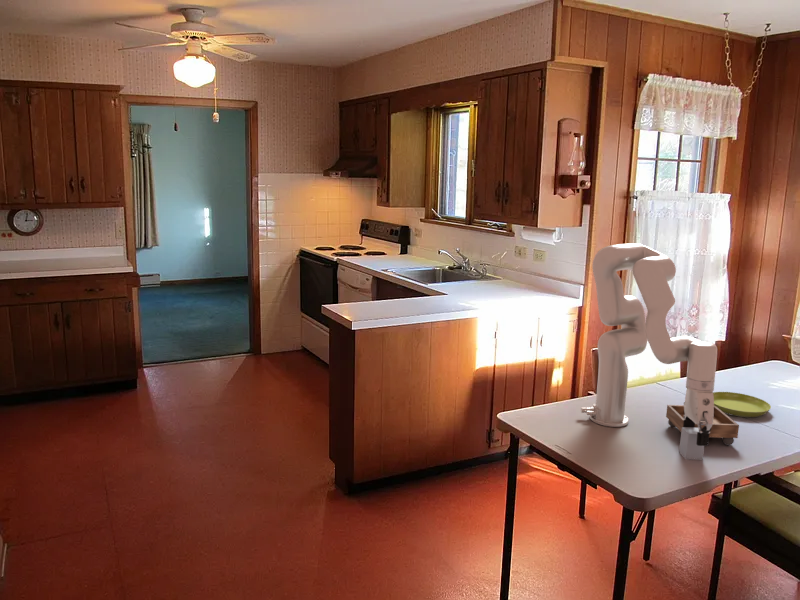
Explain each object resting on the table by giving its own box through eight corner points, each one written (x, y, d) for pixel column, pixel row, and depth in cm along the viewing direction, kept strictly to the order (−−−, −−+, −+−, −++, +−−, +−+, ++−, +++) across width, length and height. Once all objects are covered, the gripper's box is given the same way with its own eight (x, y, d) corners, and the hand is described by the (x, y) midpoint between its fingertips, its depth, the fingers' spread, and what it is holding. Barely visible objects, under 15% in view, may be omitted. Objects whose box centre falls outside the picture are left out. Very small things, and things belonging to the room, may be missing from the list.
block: (685, 459, 192) (688, 433, 190) (679, 451, 197) (681, 427, 195) (702, 459, 192) (705, 434, 190) (695, 452, 197) (698, 427, 195)
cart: (684, 445, 201) (686, 423, 200) (665, 424, 217) (667, 404, 215) (736, 446, 201) (739, 425, 199) (713, 426, 217) (715, 406, 215)
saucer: (778, 423, 221) (779, 414, 220) (713, 417, 225) (715, 408, 224) (758, 401, 241) (759, 393, 240) (699, 397, 245) (700, 389, 244)
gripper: (726, 393, 181) (721, 450, 184) (700, 375, 198) (695, 427, 201) (699, 393, 181) (694, 450, 184) (675, 374, 198) (671, 427, 201)
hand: (695, 438), depth 193 cm, fingers open, 9 cm apart
